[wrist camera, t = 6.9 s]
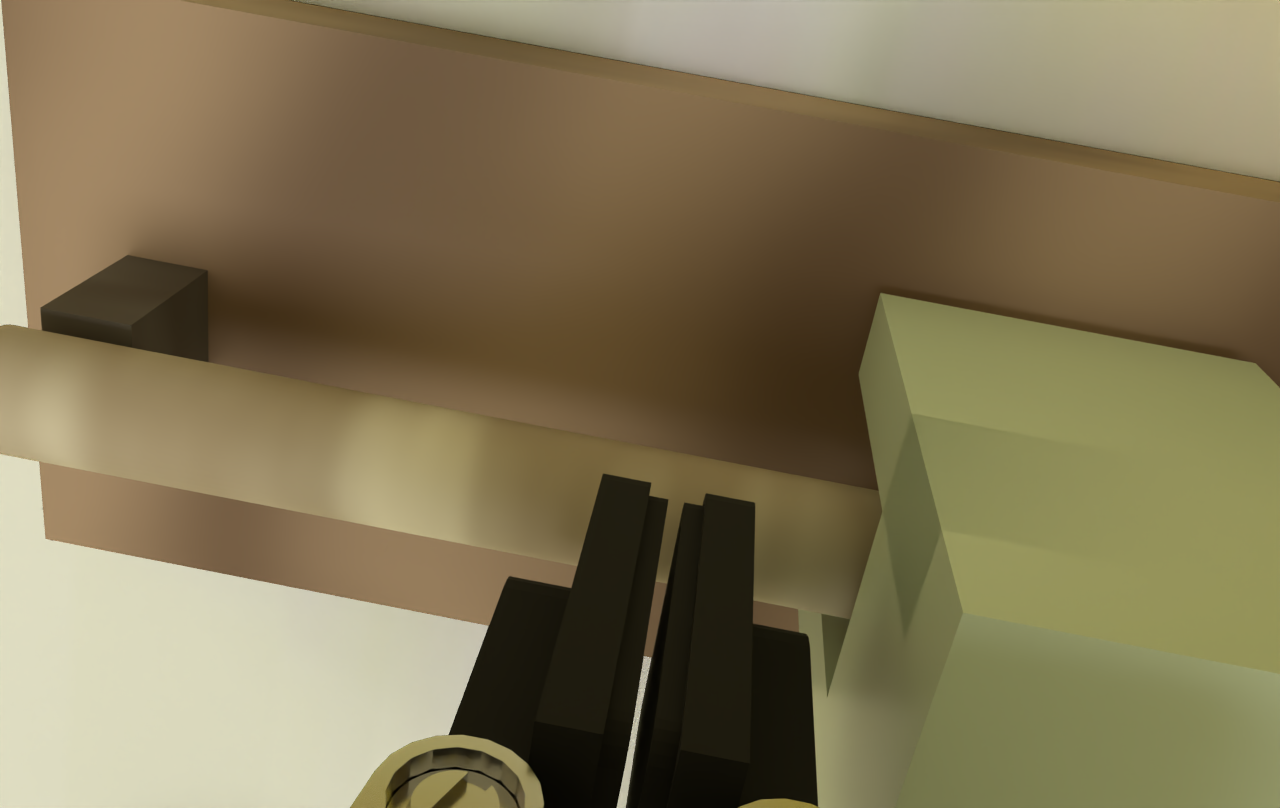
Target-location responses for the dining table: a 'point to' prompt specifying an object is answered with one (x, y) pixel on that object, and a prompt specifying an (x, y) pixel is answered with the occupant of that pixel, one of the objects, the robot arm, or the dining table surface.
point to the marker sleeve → (1056, 575)
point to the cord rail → (520, 293)
